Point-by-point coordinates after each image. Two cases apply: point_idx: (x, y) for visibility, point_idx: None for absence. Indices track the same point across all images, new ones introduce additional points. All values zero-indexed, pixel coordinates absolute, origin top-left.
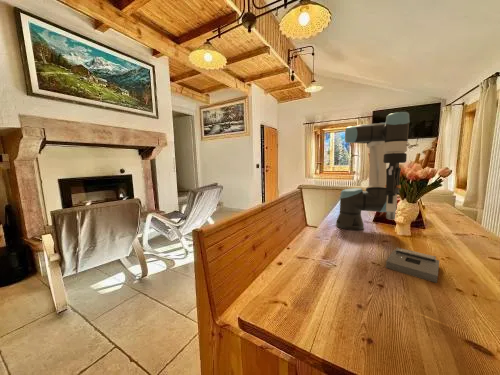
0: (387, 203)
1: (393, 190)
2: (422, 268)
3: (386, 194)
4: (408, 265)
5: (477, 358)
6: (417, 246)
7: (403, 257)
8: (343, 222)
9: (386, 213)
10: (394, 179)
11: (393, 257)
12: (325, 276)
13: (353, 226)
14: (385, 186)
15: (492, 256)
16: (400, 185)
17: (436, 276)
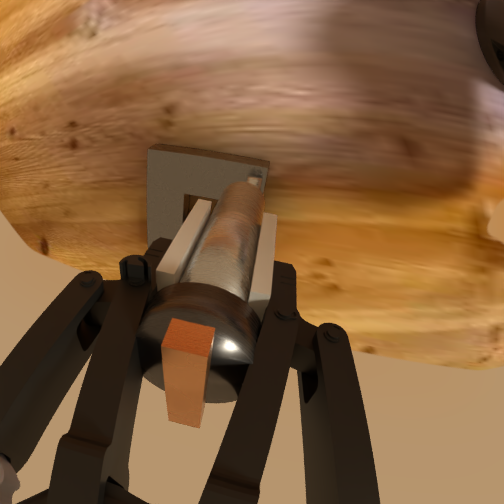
0: (181, 232)
1: (78, 338)
2: (164, 227)
3: (126, 270)
4: (159, 200)
5: (31, 241)
6: (395, 238)
7: (209, 191)
8: (495, 6)
9: (235, 193)
10: (42, 427)
11: (190, 165)
12: (42, 48)
13: (490, 46)
14: (168, 328)
15: (377, 352)
16: (192, 425)
17: (148, 245)
